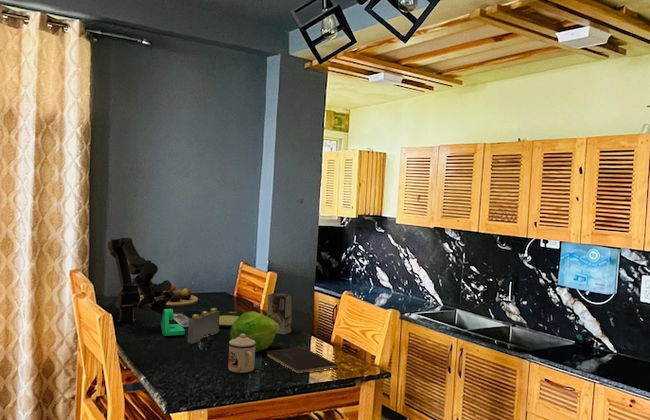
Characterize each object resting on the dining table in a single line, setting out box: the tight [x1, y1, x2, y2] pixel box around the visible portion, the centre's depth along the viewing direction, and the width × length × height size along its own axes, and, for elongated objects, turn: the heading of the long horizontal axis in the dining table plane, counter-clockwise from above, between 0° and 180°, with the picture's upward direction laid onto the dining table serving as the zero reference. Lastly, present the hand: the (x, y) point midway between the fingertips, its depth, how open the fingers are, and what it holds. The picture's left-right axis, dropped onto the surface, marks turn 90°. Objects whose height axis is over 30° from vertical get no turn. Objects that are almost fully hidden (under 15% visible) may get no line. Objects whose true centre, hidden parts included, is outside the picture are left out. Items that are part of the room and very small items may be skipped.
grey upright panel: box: [187, 307, 221, 344], centre depth 221 cm, size 20×2×10 cm, turn 162°
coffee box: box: [266, 292, 294, 335], centre depth 237 cm, size 9×6×16 cm
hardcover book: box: [265, 346, 338, 374], centre depth 195 cm, size 16×23×2 cm
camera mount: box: [160, 308, 186, 337], centre depth 224 cm, size 12×8×10 cm, turn 25°
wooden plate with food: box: [140, 283, 199, 309], centre depth 289 cm, size 32×32×8 cm
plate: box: [199, 310, 245, 328], centre depth 250 cm, size 28×28×2 cm
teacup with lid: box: [227, 334, 256, 374], centre depth 182 cm, size 12×9×12 cm
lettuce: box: [229, 310, 280, 353], centre depth 207 cm, size 15×20×14 cm
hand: (168, 316), depth 226 cm, fingers closed
